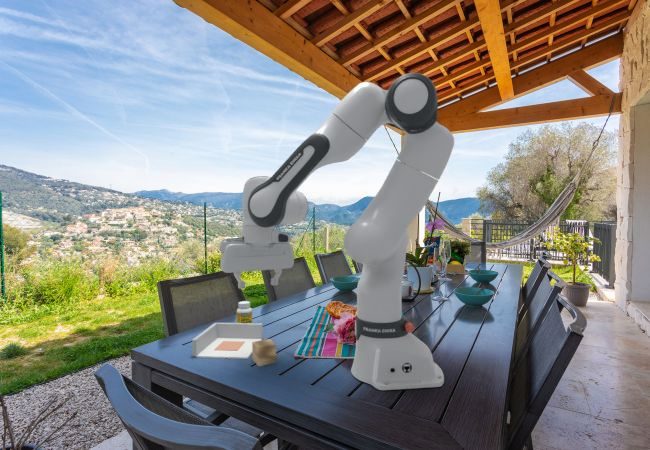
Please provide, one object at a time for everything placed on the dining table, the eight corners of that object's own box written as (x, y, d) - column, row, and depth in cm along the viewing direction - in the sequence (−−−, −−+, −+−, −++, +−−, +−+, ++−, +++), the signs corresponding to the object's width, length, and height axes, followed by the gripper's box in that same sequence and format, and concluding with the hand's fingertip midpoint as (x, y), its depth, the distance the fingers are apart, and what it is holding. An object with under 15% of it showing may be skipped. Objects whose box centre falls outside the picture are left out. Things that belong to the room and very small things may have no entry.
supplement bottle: (249, 326, 127) (248, 299, 127) (254, 330, 123) (254, 302, 123) (234, 328, 124) (234, 301, 124) (239, 332, 120) (239, 305, 120)
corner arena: (262, 338, 114) (262, 323, 114) (247, 358, 98) (247, 341, 98) (215, 337, 115) (214, 322, 115) (192, 357, 99) (192, 339, 99)
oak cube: (269, 356, 100) (269, 338, 100) (276, 362, 96) (276, 344, 95) (252, 360, 97) (252, 342, 97) (258, 366, 93) (258, 347, 93)
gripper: (223, 237, 88) (223, 292, 89) (296, 236, 99) (296, 285, 99) (217, 236, 94) (217, 288, 94) (287, 235, 104) (286, 281, 105)
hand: (258, 286), depth 97 cm, fingers open, 8 cm apart
